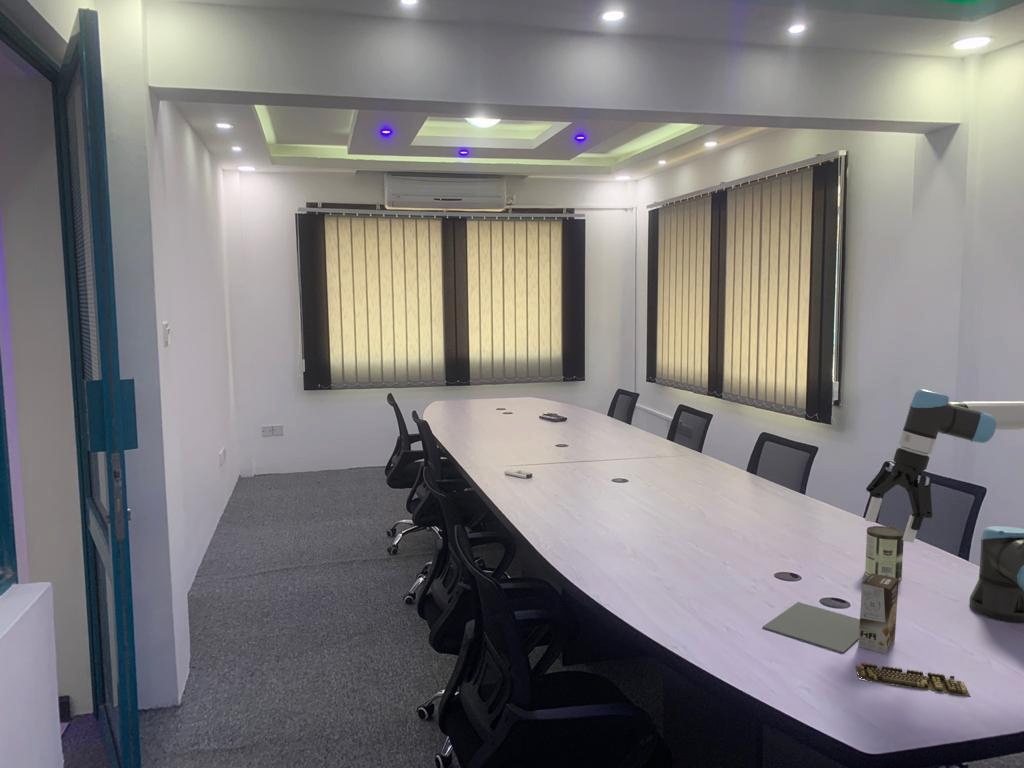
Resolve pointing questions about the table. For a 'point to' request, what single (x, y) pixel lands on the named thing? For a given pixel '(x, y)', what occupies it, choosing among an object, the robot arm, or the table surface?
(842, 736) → the table surface
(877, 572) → the coffee can
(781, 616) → the topple mat
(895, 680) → the keyboard
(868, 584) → the coffee box
